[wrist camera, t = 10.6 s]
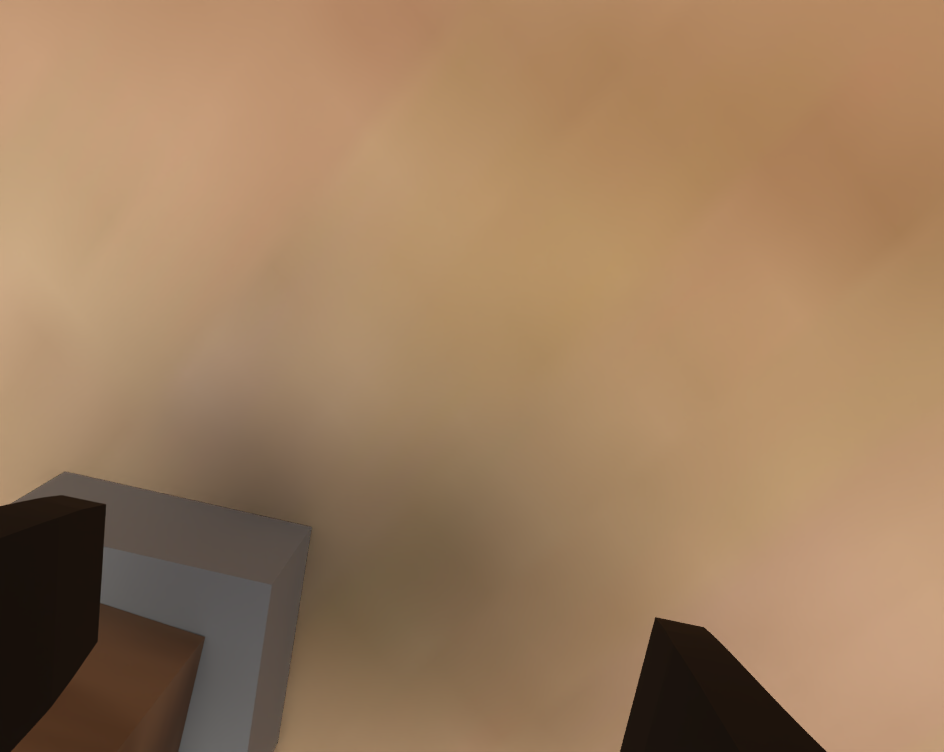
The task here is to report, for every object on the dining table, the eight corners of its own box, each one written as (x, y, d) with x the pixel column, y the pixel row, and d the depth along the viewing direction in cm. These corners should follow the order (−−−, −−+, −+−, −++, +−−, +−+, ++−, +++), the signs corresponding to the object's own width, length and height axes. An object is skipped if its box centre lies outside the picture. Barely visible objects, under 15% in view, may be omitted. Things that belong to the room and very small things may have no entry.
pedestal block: (281, 735, 23) (236, 828, 20) (55, 681, 24) (-27, 764, 20) (315, 522, 22) (272, 584, 18) (71, 467, 22) (-16, 519, 19)
